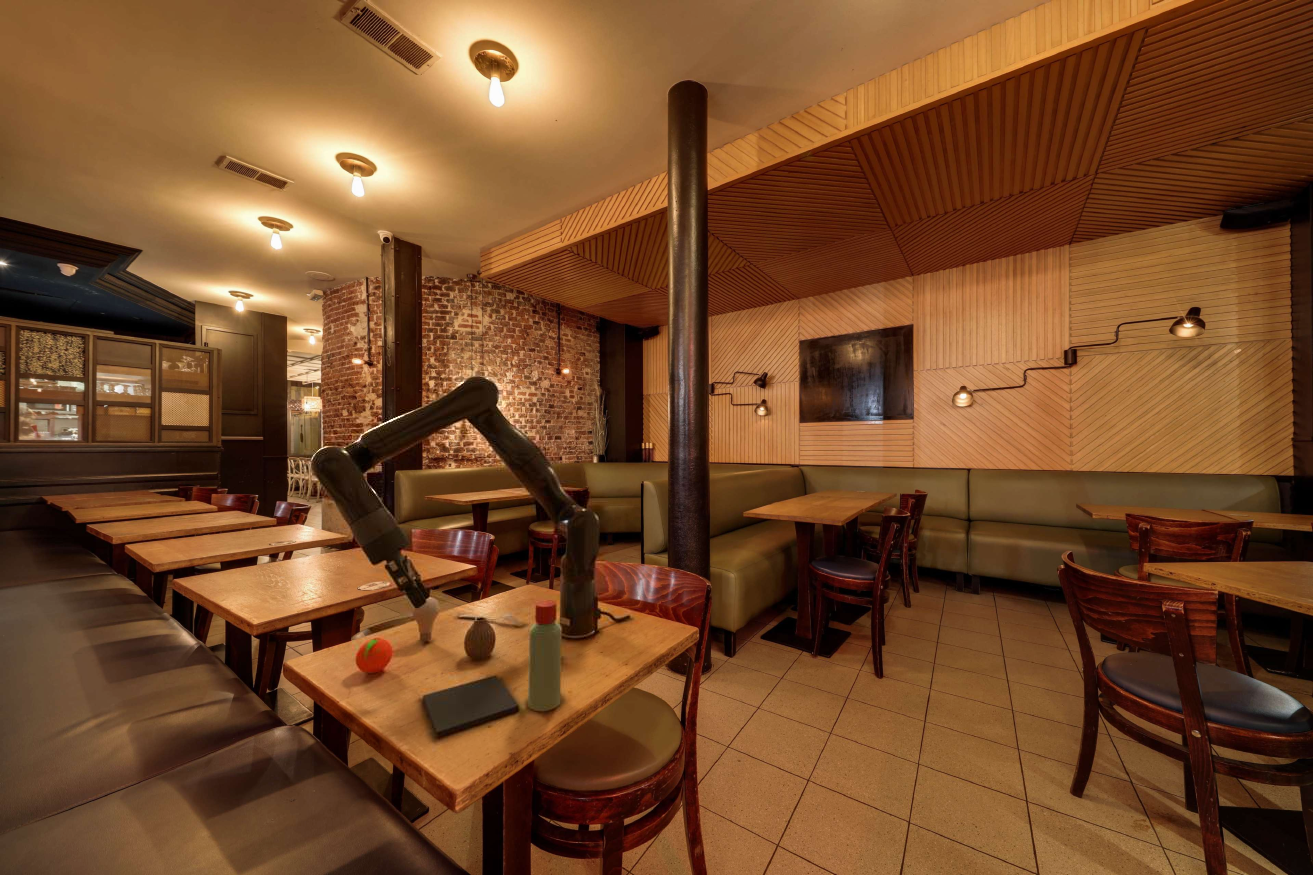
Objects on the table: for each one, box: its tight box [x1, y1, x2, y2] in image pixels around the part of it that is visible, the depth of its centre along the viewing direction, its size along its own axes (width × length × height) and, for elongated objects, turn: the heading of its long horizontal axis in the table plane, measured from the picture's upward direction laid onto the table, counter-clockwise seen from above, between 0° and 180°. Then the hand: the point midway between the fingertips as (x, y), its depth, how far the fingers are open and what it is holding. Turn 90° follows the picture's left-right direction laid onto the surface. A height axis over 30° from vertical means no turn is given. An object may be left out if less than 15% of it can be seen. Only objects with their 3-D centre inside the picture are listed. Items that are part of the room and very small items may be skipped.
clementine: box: [355, 637, 394, 674], centre depth 99 cm, size 8×7×7 cm
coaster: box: [422, 674, 520, 739], centre depth 87 cm, size 14×14×1 cm
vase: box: [463, 616, 497, 661], centre depth 107 cm, size 7×7×9 cm
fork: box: [458, 613, 525, 628], centre depth 129 cm, size 3×21×3 cm, turn 72°
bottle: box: [527, 620, 562, 712], centre depth 88 cm, size 6×6×18 cm
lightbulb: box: [411, 596, 441, 643], centre depth 115 cm, size 6×6×11 cm
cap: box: [534, 599, 557, 624], centre depth 89 cm, size 4×4×3 cm
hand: (423, 602), depth 93 cm, fingers open, 8 cm apart
